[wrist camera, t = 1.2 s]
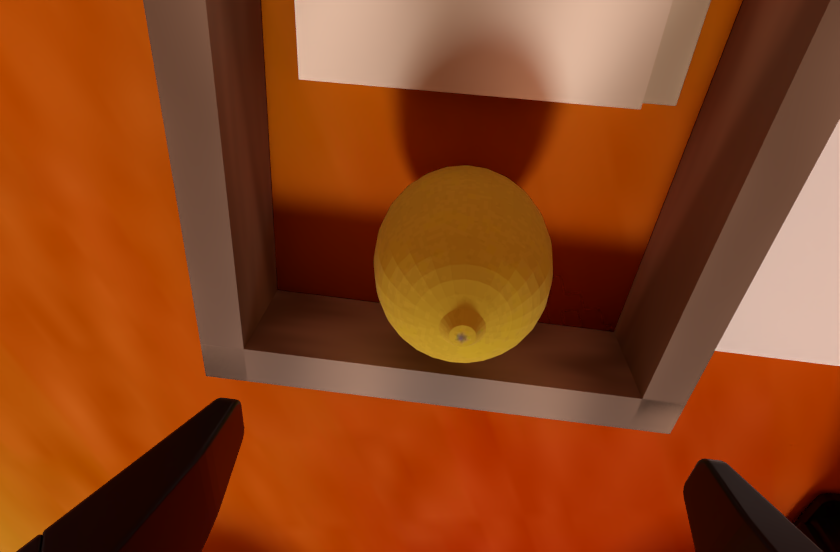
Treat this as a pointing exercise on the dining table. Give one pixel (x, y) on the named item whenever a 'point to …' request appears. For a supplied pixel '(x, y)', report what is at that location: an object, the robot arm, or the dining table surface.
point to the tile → (798, 278)
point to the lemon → (463, 264)
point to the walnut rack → (547, 343)
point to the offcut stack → (505, 47)
